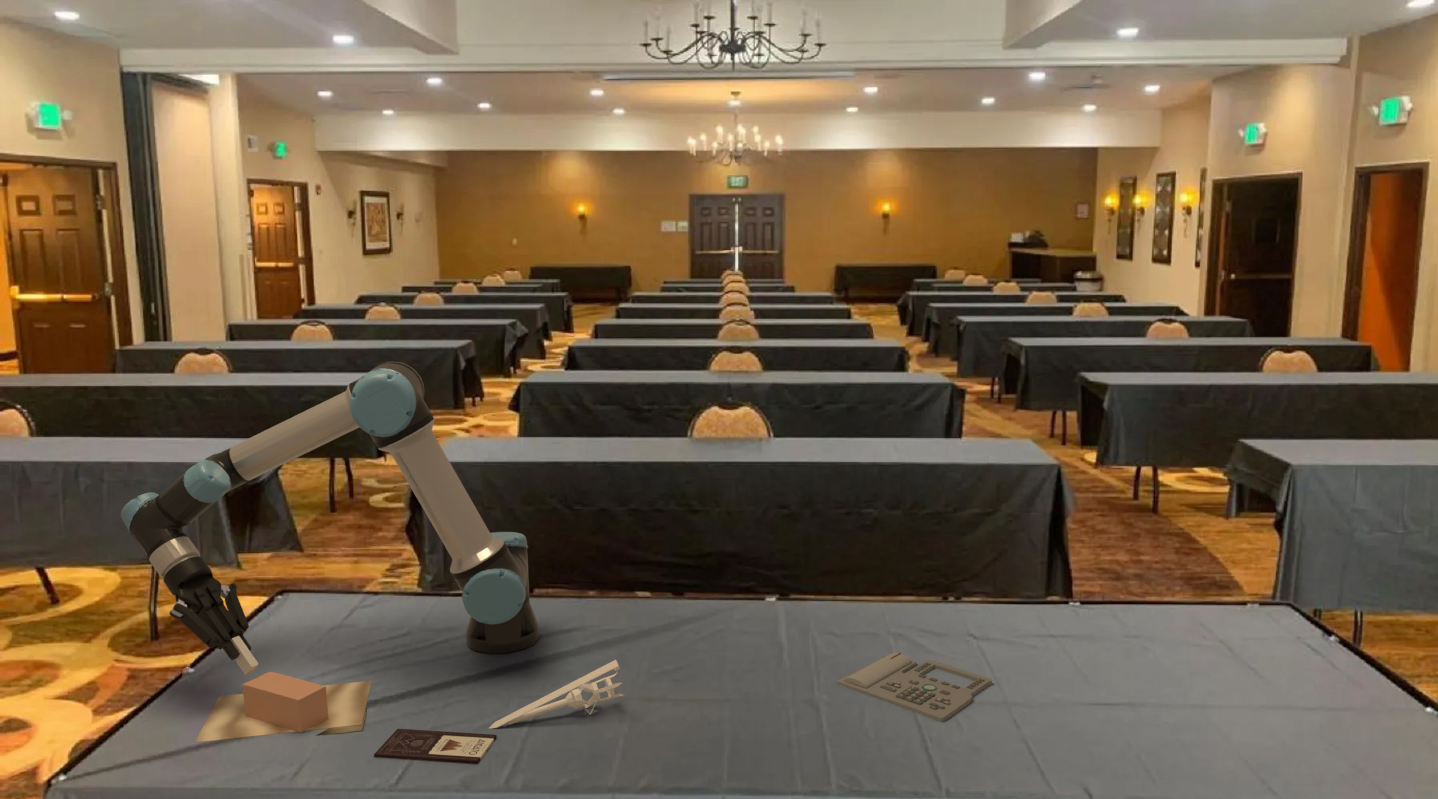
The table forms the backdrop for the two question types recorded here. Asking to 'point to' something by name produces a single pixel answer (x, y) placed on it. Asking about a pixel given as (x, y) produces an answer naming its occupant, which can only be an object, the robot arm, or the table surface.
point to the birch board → (232, 723)
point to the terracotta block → (285, 701)
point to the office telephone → (915, 686)
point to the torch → (571, 699)
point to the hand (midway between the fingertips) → (252, 669)
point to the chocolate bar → (436, 746)
